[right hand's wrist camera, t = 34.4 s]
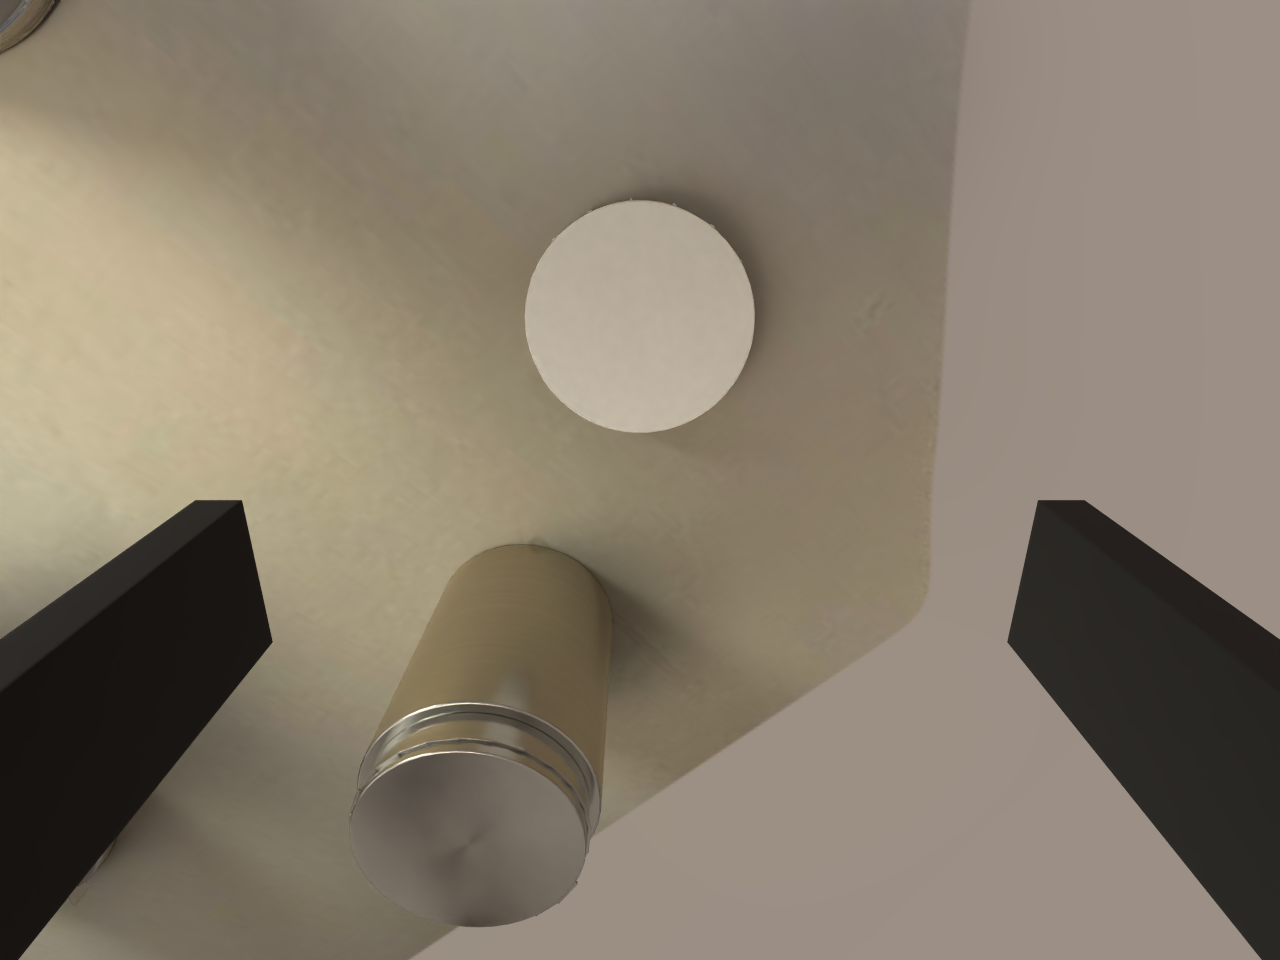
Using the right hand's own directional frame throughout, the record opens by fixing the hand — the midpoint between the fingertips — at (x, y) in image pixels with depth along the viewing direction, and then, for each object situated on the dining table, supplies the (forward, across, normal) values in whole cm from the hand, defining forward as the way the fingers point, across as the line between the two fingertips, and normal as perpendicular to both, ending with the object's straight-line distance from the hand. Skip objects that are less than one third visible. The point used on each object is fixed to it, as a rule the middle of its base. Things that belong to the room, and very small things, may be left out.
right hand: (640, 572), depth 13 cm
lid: (+24, 0, 0) cm, 24 cm away
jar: (+27, -7, -18) cm, 33 cm away
